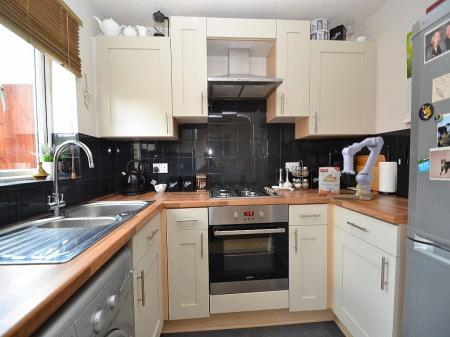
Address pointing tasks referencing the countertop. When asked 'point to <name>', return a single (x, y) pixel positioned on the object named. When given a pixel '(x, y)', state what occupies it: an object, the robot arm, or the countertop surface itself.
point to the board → (344, 197)
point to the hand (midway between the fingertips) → (348, 183)
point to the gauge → (363, 193)
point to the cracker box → (329, 180)
